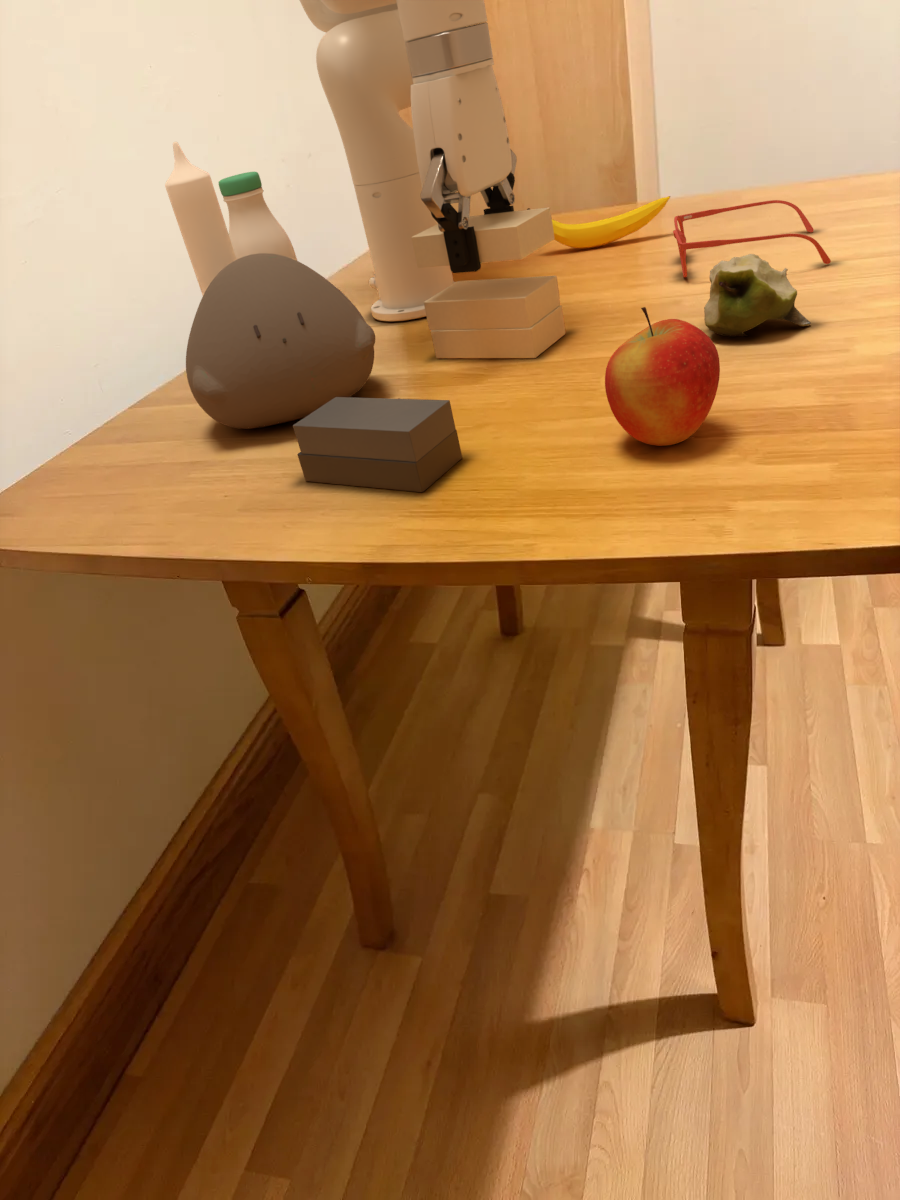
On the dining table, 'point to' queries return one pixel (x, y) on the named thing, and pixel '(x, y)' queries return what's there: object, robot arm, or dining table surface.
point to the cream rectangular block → (491, 237)
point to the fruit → (749, 296)
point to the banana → (606, 227)
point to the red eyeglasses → (703, 244)
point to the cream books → (496, 318)
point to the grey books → (378, 442)
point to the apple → (663, 381)
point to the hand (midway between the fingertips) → (485, 258)
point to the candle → (199, 219)
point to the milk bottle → (252, 218)
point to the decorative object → (274, 343)
